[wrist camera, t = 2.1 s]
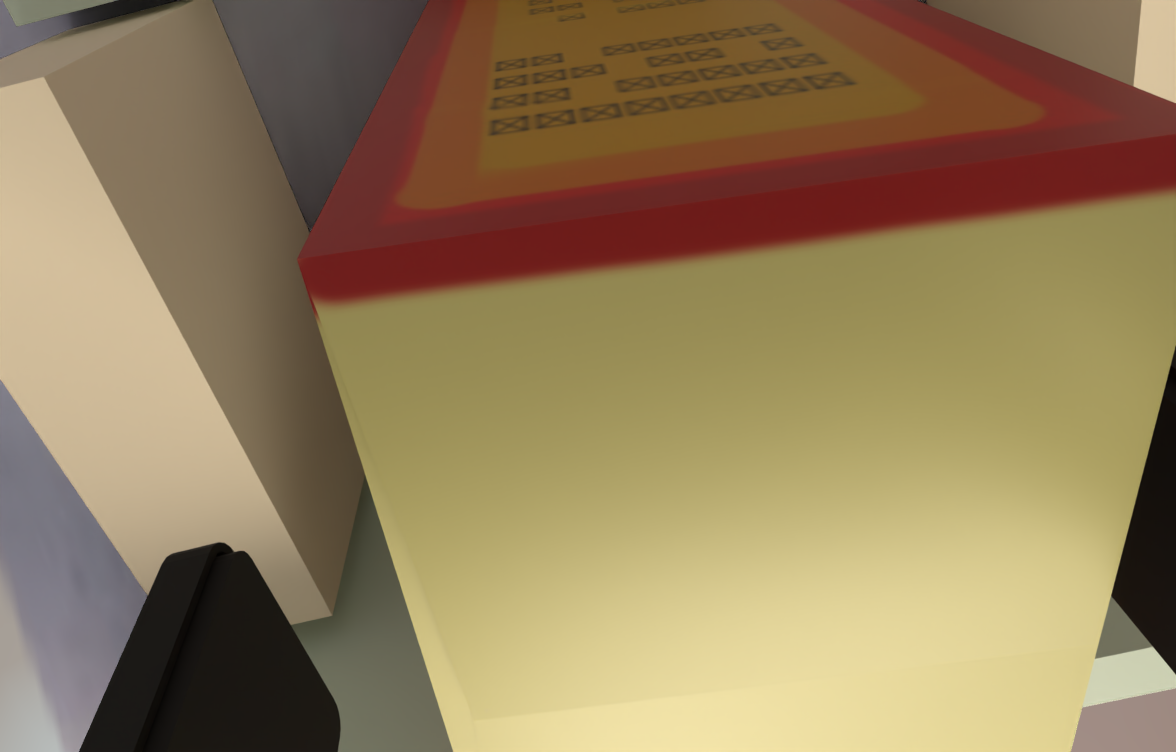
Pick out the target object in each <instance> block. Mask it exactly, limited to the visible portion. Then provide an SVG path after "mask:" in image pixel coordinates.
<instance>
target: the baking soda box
mask: <svg viewBox="0 0 1176 752" xmlns="http://www.w3.org/2000/svg"><path fill="white" fill-rule="evenodd" d="M297 261H298V264H299V268H300V271H301V274H302V277H303V280H304V283H305V287H306V290H307V293H308V296H309V299H310V302H311V305H312V309H313V312H314V315H315V318H316V321H317V324H318V327H319V331H320V334H321V337H322V340H323V343H324V346H325V349H326V353H327V356H328V359H329V362H330V365H331V368H332V372H333V375H334V378H335V381H336V384H337V387H338V390H339V394H340V397H341V400H342V403H343V406H344V409H345V412H346V416H347V419H348V422H349V425H350V428H351V431H352V434H353V438H354V441H355V444H356V447H357V450H358V453H359V457H360V460H361V463H362V466H363V469H364V472H365V475H366V479H367V482H368V485H369V488H370V491H371V494H372V497H373V501H374V504H375V507H376V510H377V513H378V516H379V519H380V523H381V526H382V529H383V532H384V535H385V538H386V542H387V545H388V548H389V551H390V554H391V557H392V560H393V564H394V567H395V570H396V573H397V576H398V579H399V582H400V586H401V589H402V592H403V595H404V598H405V601H406V604H407V608H408V611H409V614H410V617H411V620H412V623H413V627H414V630H415V633H416V636H417V639H418V642H419V645H420V649H421V652H422V655H423V658H424V661H425V664H426V667H427V671H428V674H429V677H430V680H431V683H432V686H433V689H434V693H435V696H436V699H437V702H438V705H439V708H440V712H441V715H442V718H443V721H444V724H445V727H446V730H447V734H448V737H449V740H450V743H451V746H452V749H453V752H1071V748H1072V744H1073V741H1074V736H1075V733H1076V729H1077V725H1078V721H1079V717H1080V714H1081V710H1082V706H1083V702H1084V698H1085V694H1086V690H1087V687H1088V683H1089V679H1090V675H1091V671H1092V667H1093V663H1094V659H1095V656H1096V652H1097V648H1098V644H1099V640H1100V636H1101V632H1102V629H1103V625H1104V621H1105V617H1106V613H1107V609H1108V605H1109V602H1110V598H1111V594H1112V590H1113V586H1114V582H1115V578H1116V574H1117V571H1118V567H1119V563H1120V559H1121V555H1122V551H1123V547H1124V544H1125V540H1126V536H1127V532H1128V528H1129V524H1130V520H1131V516H1132V513H1133V509H1134V505H1135V501H1136V497H1137V493H1138V489H1139V486H1140V482H1141V478H1142V474H1143V470H1144V466H1145V462H1146V458H1147V455H1148V451H1149V447H1150V443H1151V439H1152V435H1153V431H1154V428H1155V424H1156V420H1157V416H1158V412H1159V408H1160V404H1161V401H1162V397H1163V393H1164V389H1165V385H1166V381H1167V377H1168V373H1169V370H1170V366H1171V362H1172V358H1173V354H1174V350H1175V346H1176V103H1174V102H1171V101H1169V100H1166V99H1164V98H1161V97H1159V96H1156V95H1154V94H1151V93H1149V92H1146V91H1144V90H1141V89H1139V88H1136V87H1134V86H1131V85H1129V84H1126V83H1123V82H1121V81H1118V80H1116V79H1113V78H1111V77H1108V76H1106V75H1103V74H1101V73H1098V72H1096V71H1093V70H1091V69H1088V68H1086V67H1083V66H1081V65H1078V64H1076V63H1073V62H1071V61H1068V60H1066V59H1063V58H1060V57H1058V56H1055V55H1053V54H1050V53H1048V52H1045V51H1043V50H1040V49H1038V48H1035V47H1033V46H1030V45H1028V44H1025V43H1023V42H1020V41H1018V40H1015V39H1013V38H1010V37H1008V36H1005V35H1002V34H1000V33H997V32H995V31H992V30H990V29H987V28H985V27H982V26H980V25H977V24H975V23H972V22H970V21H967V20H965V19H962V18H960V17H957V16H955V15H952V14H950V13H947V12H945V11H942V10H939V9H937V8H934V7H932V6H929V5H927V4H924V3H922V2H919V1H917V0H429V1H428V3H427V5H426V7H425V9H424V11H423V13H422V15H421V16H420V18H419V20H418V22H417V24H416V26H415V28H414V30H413V32H412V34H411V36H410V38H409V40H408V42H407V44H406V46H405V48H404V50H403V52H402V54H401V56H400V58H399V60H398V62H397V64H396V66H395V67H394V69H393V71H392V73H391V75H390V77H389V79H388V81H387V83H386V85H385V87H384V89H383V91H382V93H381V95H380V97H379V99H378V101H377V103H376V105H375V107H374V109H373V111H372V113H371V115H370V116H369V118H368V120H367V122H366V124H365V126H364V128H363V130H362V132H361V134H360V136H359V138H358V140H357V142H356V144H355V146H354V148H353V150H352V152H351V154H350V156H349V158H348V160H347V162H346V164H345V165H344V167H343V169H342V171H341V173H340V175H339V177H338V179H337V181H336V183H335V185H334V187H333V189H332V191H331V193H330V195H329V197H328V199H327V201H326V203H325V205H324V207H323V209H322V211H321V213H320V214H319V216H318V218H317V220H316V222H315V224H314V226H313V228H312V230H311V232H310V234H309V236H308V238H307V240H306V242H305V244H304V246H303V248H302V250H301V252H300V254H299V256H298V258H297Z"/></svg>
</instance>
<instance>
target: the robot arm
mask: <svg viewBox="0 0 1176 752" xmlns="http://www.w3.org/2000/svg"><path fill="white" fill-rule="evenodd" d="M1111 597H1112V598H1113V599H1114V600H1115V601H1116V603H1117V604H1118V605H1119V606H1120V607H1121V609H1122V610H1123V611H1124V612H1125V614H1126V615H1127V616H1128V617H1129V618H1130V620H1131V621H1132V622H1133V623H1134V624H1135V626H1136V627H1137V628H1138V629H1139V631H1140V632H1141V633H1142V634H1143V635H1144V637H1145V638H1146V639H1147V640H1148V642H1149V643H1150V644H1151V645H1152V646H1153V648H1154V649H1155V650H1156V651H1157V652H1158V654H1159V655H1160V656H1161V657H1162V659H1163V660H1164V661H1165V662H1166V663H1167V665H1168V666H1169V667H1170V668H1171V670H1172V671H1173V672H1174V673H1175V674H1176V346H1175V350H1174V354H1173V358H1172V362H1171V366H1170V370H1169V373H1168V377H1167V381H1166V385H1165V389H1164V393H1163V397H1162V401H1161V404H1160V408H1159V412H1158V416H1157V420H1156V424H1155V428H1154V431H1153V435H1152V439H1151V443H1150V447H1149V451H1148V455H1147V458H1146V462H1145V466H1144V470H1143V474H1142V478H1141V482H1140V486H1139V489H1138V493H1137V497H1136V501H1135V505H1134V509H1133V513H1132V516H1131V520H1130V524H1129V528H1128V532H1127V536H1126V540H1125V544H1124V547H1123V551H1122V555H1121V559H1120V563H1119V567H1118V571H1117V574H1116V578H1115V582H1114V586H1113V590H1112V594H1111ZM340 732H341V723H340V715H339V710H338V707H337V704H336V702H335V700H334V698H333V696H332V695H331V693H330V691H329V689H328V688H327V686H326V684H325V683H324V681H323V679H322V678H321V676H320V674H319V672H318V671H317V669H316V667H315V666H314V664H313V662H312V660H311V659H310V657H309V655H308V654H307V652H306V650H305V649H304V647H303V645H302V643H301V642H300V640H299V638H298V637H297V635H296V633H295V631H294V630H293V628H292V626H291V625H290V623H289V621H288V620H287V618H286V616H285V614H284V613H283V611H282V609H281V608H280V606H279V604H278V602H277V601H276V599H275V597H274V596H273V594H272V592H271V590H270V589H269V587H268V585H267V584H266V582H265V580H264V579H263V577H262V575H261V573H260V572H259V570H258V568H257V567H256V565H255V563H254V561H253V560H252V558H251V557H250V556H249V554H248V553H246V552H245V551H236V552H234V551H233V549H232V548H231V547H230V546H229V545H227V544H226V543H222V542H217V543H213V544H209V545H205V546H201V547H197V548H193V549H189V550H184V551H180V552H176V553H172V554H171V555H169V556H167V557H166V558H165V560H164V561H163V563H162V565H161V567H160V569H159V571H158V574H157V576H156V578H155V580H154V583H153V585H152V587H151V590H150V592H149V594H148V596H147V599H146V601H145V603H144V605H143V608H142V610H141V612H140V614H139V617H138V619H137V621H136V624H135V626H134V628H133V630H132V633H131V635H130V637H129V639H128V642H127V644H126V646H125V649H124V651H123V653H122V655H121V658H120V660H119V662H118V664H117V667H116V669H115V671H114V673H113V676H112V678H111V680H110V683H109V685H108V687H107V689H106V692H105V694H104V696H103V698H102V701H101V703H100V705H99V708H98V710H97V712H96V714H95V717H94V719H93V721H92V723H91V726H90V728H89V730H88V733H87V735H86V737H85V739H84V742H83V744H82V746H81V748H80V751H79V752H338V747H339V741H340Z"/></svg>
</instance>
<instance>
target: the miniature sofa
mask: <svg viewBox="0 0 1176 752" xmlns="http://www.w3.org/2000/svg"><path fill="white" fill-rule="evenodd" d="M113 1H117V0H3V2H4V4H5V6H6V8H7V10H8V11H9V13H10V15H11V17H12V19H13V21H14V23H15V24H16V26H17V27H18V26H21V25H25V24H29V23H33V22H37V21H40V20H44V19H48V18H52V17H56V16H60V15H63V14H67V13H71V12H75V11H79V10H82V9H86V8H90V7H94V6H98V5H102V4H105V3H109V2H113ZM927 5H929V6H932V7H934V8H937V9H939V10H942V11H945V12H947V13H950V14H952V15H955V16H957V17H960V18H962V19H965V20H967V21H970V22H972V23H975V24H977V25H980V26H982V27H985V28H987V29H990V30H992V31H995V32H997V33H1000V34H1002V35H1005V36H1008V37H1010V38H1013V39H1015V40H1018V41H1020V42H1023V43H1025V44H1028V45H1030V46H1033V47H1035V48H1038V49H1040V50H1043V51H1045V52H1048V53H1050V54H1053V55H1055V56H1058V57H1060V58H1063V59H1066V60H1068V61H1071V62H1073V63H1076V64H1078V65H1081V66H1083V67H1086V68H1088V69H1091V70H1093V71H1096V72H1098V73H1101V74H1103V75H1106V76H1108V77H1111V78H1113V79H1116V80H1118V81H1121V82H1123V83H1126V84H1129V85H1131V86H1134V87H1136V88H1139V89H1141V90H1144V91H1146V92H1149V93H1151V94H1154V95H1156V96H1159V97H1161V98H1164V99H1166V100H1169V101H1171V102H1174V103H1176V0H927ZM309 234H310V232H309V230H308V228H307V225H306V223H305V220H304V218H303V216H302V213H301V211H300V209H299V206H298V204H297V201H296V199H295V197H294V194H293V192H292V189H291V187H290V185H289V182H288V180H287V178H286V175H285V173H284V170H283V168H282V166H281V163H280V161H279V158H278V156H277V154H276V151H275V149H274V147H273V144H272V142H271V139H270V137H269V135H268V132H267V130H266V127H265V125H264V123H263V120H262V118H261V116H260V113H259V111H258V108H257V106H256V104H255V101H254V99H253V96H252V94H251V92H250V89H249V87H248V85H247V82H246V80H245V77H244V75H243V73H242V70H241V68H240V65H239V63H238V61H237V58H236V56H235V54H234V51H233V49H232V46H231V44H230V42H229V39H228V37H227V34H226V32H225V30H224V27H223V25H222V23H221V20H220V18H219V15H218V13H217V11H216V8H215V6H214V3H213V1H212V0H180V1H176V2H172V3H168V4H164V5H161V6H157V7H153V8H149V9H145V10H141V11H138V12H134V13H130V14H126V15H122V16H118V17H115V18H111V19H107V20H103V21H99V22H95V23H92V24H88V25H84V26H80V27H76V28H73V29H69V30H67V31H65V32H62V33H60V34H58V35H55V36H53V37H51V38H48V39H46V40H44V41H41V42H39V43H37V44H34V45H32V46H30V47H27V48H25V49H23V50H20V51H18V52H16V53H13V54H11V55H9V56H7V57H4V58H2V59H0V379H1V381H2V382H3V384H4V385H5V387H6V388H7V390H8V391H9V393H10V394H11V395H12V397H13V398H14V400H15V401H16V403H17V404H18V406H19V407H20V409H21V410H22V412H23V413H24V415H25V416H26V418H27V419H28V420H29V422H30V423H31V425H32V426H33V428H34V429H35V431H36V432H37V434H38V435H39V437H40V438H41V440H42V441H43V442H44V444H45V445H46V447H47V448H48V450H49V451H50V453H51V454H52V456H53V457H54V459H55V460H56V462H57V463H58V465H59V466H60V467H61V469H62V470H63V472H64V473H65V475H66V476H67V478H68V479H69V481H70V482H71V484H72V485H73V487H74V488H75V490H76V491H77V492H78V494H79V495H80V497H81V498H82V500H83V501H84V503H85V504H86V506H87V507H88V509H89V510H90V512H91V513H92V514H93V516H94V517H95V519H96V520H97V522H98V523H99V525H100V526H101V528H102V529H103V531H104V532H105V534H106V535H107V537H108V538H109V539H110V541H111V542H112V544H113V545H114V547H115V548H116V550H117V551H118V553H119V554H120V556H121V557H122V559H123V560H124V562H125V563H126V564H127V566H128V567H129V569H130V570H131V572H132V573H133V575H134V576H135V578H136V579H137V581H138V582H139V584H140V585H141V586H142V588H143V589H144V591H145V592H146V594H147V595H148V594H149V592H150V590H151V587H152V585H153V583H154V580H155V578H156V576H157V574H158V571H159V569H160V567H161V565H162V563H163V561H164V560H165V558H166V557H167V556H169V555H171V554H172V553H176V552H180V551H184V550H189V549H193V548H197V547H201V546H205V545H209V544H213V543H217V542H222V543H226V544H227V545H229V546H230V547H231V548H232V549H233V551H234V552H236V551H245V552H246V553H248V554H249V556H250V557H251V558H252V560H253V561H254V563H255V565H256V567H257V568H258V570H259V572H260V573H261V575H262V577H263V579H264V580H265V582H266V584H267V585H268V587H269V589H270V590H271V592H272V594H273V596H274V597H275V599H276V601H277V602H278V604H279V606H280V608H281V609H282V611H283V613H284V614H285V616H286V618H287V620H288V621H289V623H290V625H291V626H292V628H293V630H294V631H295V633H296V635H297V637H298V638H299V640H300V642H301V643H302V645H303V647H304V649H305V650H306V652H307V654H308V655H309V657H310V659H311V660H312V662H313V664H314V666H315V667H316V669H317V671H318V672H319V674H320V676H321V678H322V679H323V681H324V683H325V684H326V686H327V688H328V689H329V691H330V693H331V695H332V696H333V698H334V700H335V702H336V704H337V707H338V710H339V715H340V723H341V732H340V741H339V747H338V752H453V749H452V746H451V743H450V740H449V737H448V734H447V730H446V727H445V724H444V721H443V718H442V715H441V712H440V708H439V705H438V702H437V699H436V696H435V693H434V689H433V686H432V683H431V680H430V677H429V674H428V671H427V667H426V664H425V661H424V658H423V655H422V652H421V649H420V645H419V642H418V639H417V636H416V633H415V630H414V627H413V623H412V620H411V617H410V614H409V611H408V608H407V604H406V601H405V598H404V595H403V592H402V589H401V586H400V582H399V579H398V576H397V573H396V570H395V567H394V564H393V560H392V557H391V554H390V551H389V548H388V545H387V542H386V538H385V535H384V532H383V529H382V526H381V523H380V519H379V516H378V513H377V510H376V507H375V504H374V501H373V497H372V494H371V491H370V488H369V485H368V482H367V479H366V475H365V472H364V469H363V466H362V463H361V460H360V457H359V453H358V450H357V447H356V444H355V441H354V438H353V434H352V431H351V428H350V425H349V422H348V419H347V416H346V412H345V409H344V406H343V403H342V400H341V397H340V394H339V390H338V387H337V384H336V381H335V378H334V375H333V372H332V368H331V365H330V362H329V359H328V356H327V353H326V349H325V346H324V343H323V340H322V337H321V334H320V331H319V327H318V324H317V321H316V318H315V315H314V312H313V309H312V305H311V302H310V299H309V296H308V293H307V290H306V287H305V283H304V280H303V277H302V274H301V271H300V268H299V264H298V261H297V258H298V256H299V254H300V252H301V250H302V248H303V246H304V244H305V242H306V240H307V238H308V236H309ZM1174 688H1176V674H1175V673H1174V672H1173V671H1172V670H1171V668H1170V667H1169V666H1168V665H1167V663H1166V662H1165V661H1164V660H1163V659H1162V657H1161V656H1160V655H1159V654H1158V652H1157V651H1156V650H1155V649H1154V648H1153V646H1152V645H1151V644H1150V643H1149V642H1148V640H1147V639H1146V638H1145V637H1144V635H1143V634H1142V633H1141V632H1140V631H1139V629H1138V628H1137V627H1136V626H1135V624H1134V623H1133V622H1132V621H1131V620H1130V618H1129V617H1128V616H1127V615H1126V614H1125V612H1124V611H1123V610H1122V609H1121V607H1120V606H1119V605H1118V604H1117V603H1116V601H1115V600H1114V599H1113V598H1112V597H1111V598H1110V602H1109V605H1108V609H1107V613H1106V617H1105V621H1104V625H1103V629H1102V632H1101V636H1100V640H1099V644H1098V648H1097V652H1096V656H1095V659H1094V663H1093V667H1092V671H1091V675H1090V679H1089V683H1088V687H1087V690H1086V694H1085V698H1084V702H1083V706H1082V707H1087V706H1091V705H1096V704H1101V703H1106V702H1111V701H1115V700H1120V699H1125V698H1130V697H1135V696H1140V695H1145V694H1150V693H1155V692H1159V691H1164V690H1169V689H1174Z"/></svg>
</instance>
